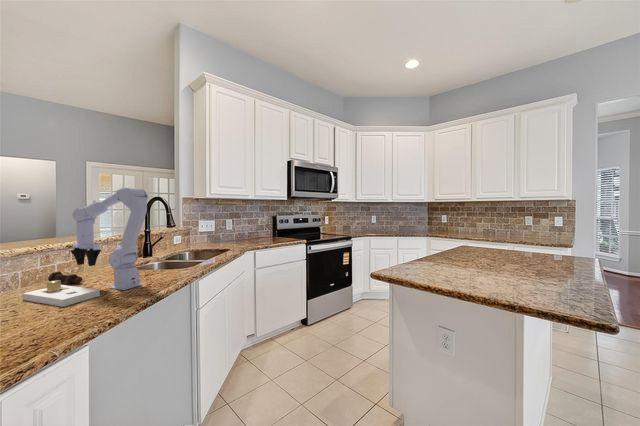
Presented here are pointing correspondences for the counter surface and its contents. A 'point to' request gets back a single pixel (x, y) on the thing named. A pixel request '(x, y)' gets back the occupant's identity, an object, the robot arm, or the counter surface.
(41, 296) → the fitting plate
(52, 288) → the brass cylinder
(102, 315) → the counter surface
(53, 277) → the bolt
